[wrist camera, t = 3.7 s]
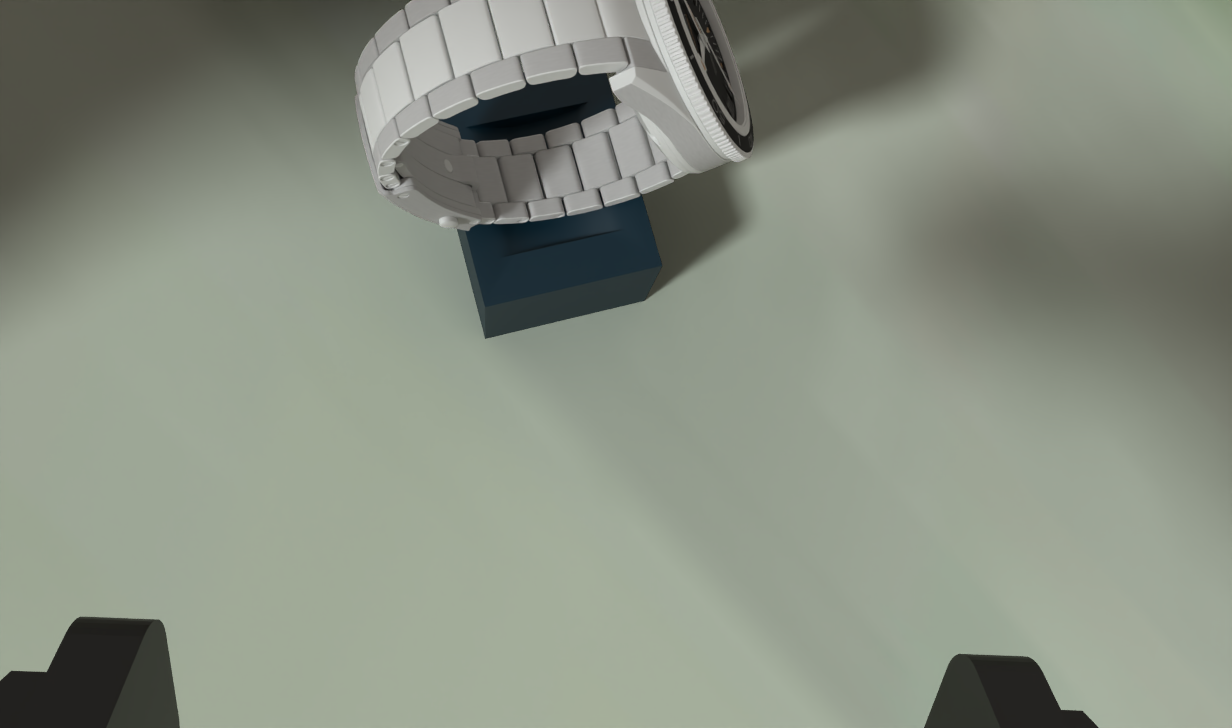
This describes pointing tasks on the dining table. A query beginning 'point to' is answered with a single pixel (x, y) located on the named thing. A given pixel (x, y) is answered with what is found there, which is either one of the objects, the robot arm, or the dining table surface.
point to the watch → (548, 138)
